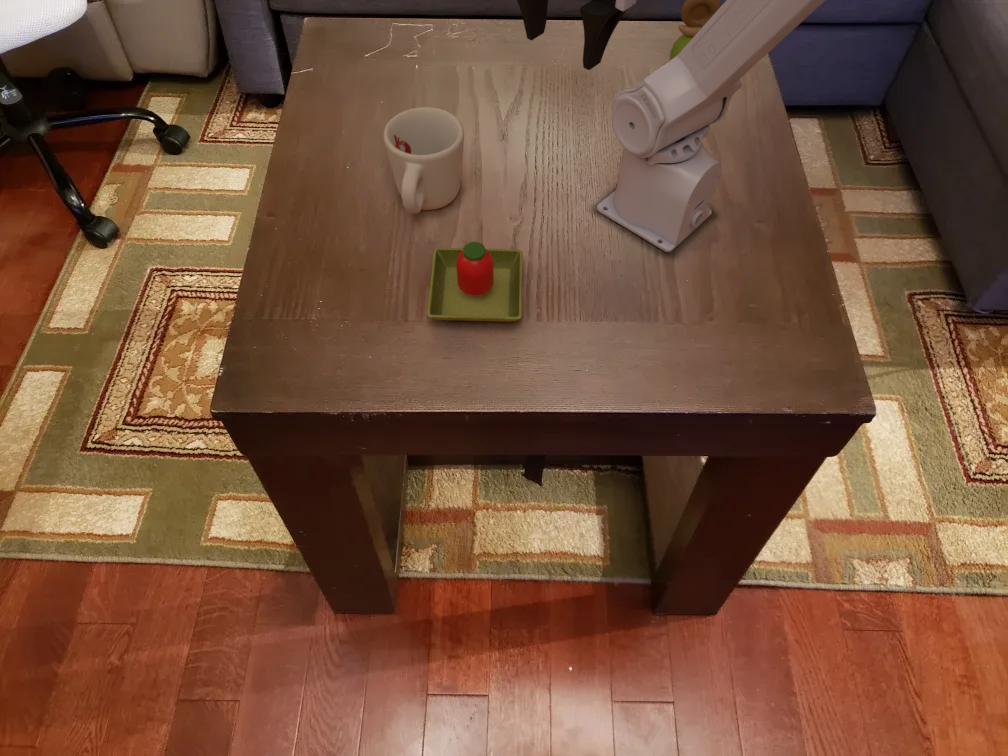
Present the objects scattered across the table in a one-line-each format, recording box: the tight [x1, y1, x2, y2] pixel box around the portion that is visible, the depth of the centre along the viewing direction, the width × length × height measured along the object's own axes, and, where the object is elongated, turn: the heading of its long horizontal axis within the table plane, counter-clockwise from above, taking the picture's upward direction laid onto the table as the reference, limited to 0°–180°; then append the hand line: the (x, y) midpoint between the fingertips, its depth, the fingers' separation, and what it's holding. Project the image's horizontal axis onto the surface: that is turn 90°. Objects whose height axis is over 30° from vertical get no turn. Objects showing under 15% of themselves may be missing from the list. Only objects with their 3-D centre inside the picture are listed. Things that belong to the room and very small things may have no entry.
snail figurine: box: [669, 0, 722, 61], centre depth 87 cm, size 5×6×12 cm
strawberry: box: [456, 241, 494, 295], centre depth 68 cm, size 3×3×4 cm
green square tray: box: [426, 247, 524, 323], centre depth 70 cm, size 9×9×2 cm
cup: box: [383, 106, 465, 215], centre depth 75 cm, size 11×8×8 cm
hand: (563, 50), depth 77 cm, fingers open, 7 cm apart
